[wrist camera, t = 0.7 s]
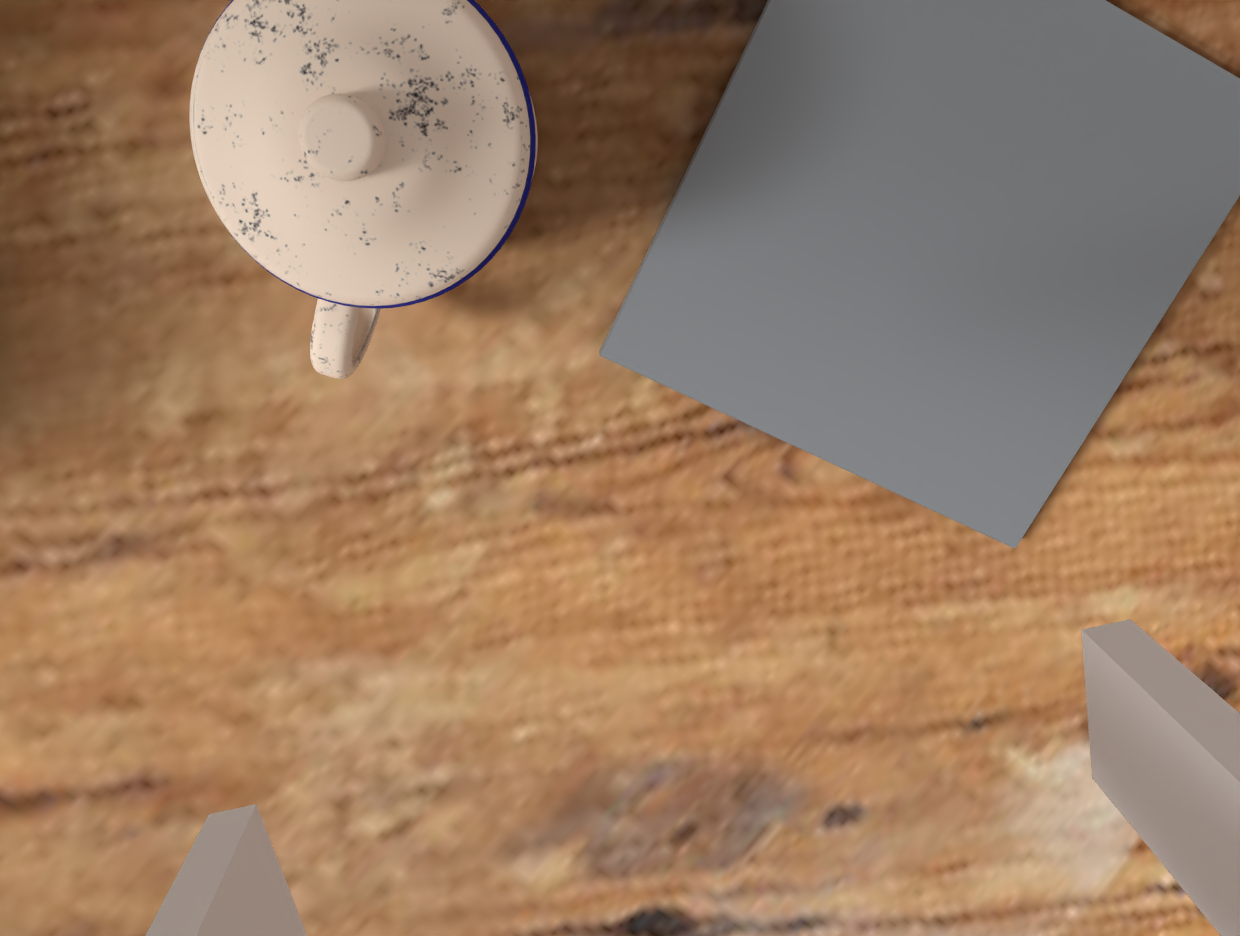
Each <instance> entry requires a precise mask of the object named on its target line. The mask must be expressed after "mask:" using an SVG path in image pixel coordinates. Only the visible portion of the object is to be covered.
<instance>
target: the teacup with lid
mask: <svg viewBox="0 0 1240 936" xmlns="http://www.w3.org/2000/svg"><path fill="white" fill-rule="evenodd" d="M190 133H191V142H192V148H193V153H194V158H195V162H196V165H197V169H198V173H199V175H200V178H201V181H202V184H203V186H204V189H205V191H206V193H207V195H208V197H209V200H210V202H211V204H212V206H213V208H214V209H215V211H216V213H217V214H218V216H219V218H220V219H221V221H222V223H223V224H224V225H225V227H226V228H227V230H228V231H229V232H230V234H231V235H232V236H233V238H234V239H235V240H236V241H237V242H238V243H239V245H240V246H241V247H242V248H243V249H244V250H245V251H246V252H247V253H248V254H249V255H250V256H251V257H252V258H253V259H254V260H255V261H256V262H257V263H259V264H260V265H261V266H262V267H263V268H265V269H266V270H267V271H268V272H270V273H271V274H273V275H274V276H276V277H277V278H279V279H280V280H281V281H283V282H285V283H286V284H288V285H290V286H292V287H294V288H295V289H297V290H299V291H302V292H304V293H306V294H308V295H311V296H313V297H316V298H318V301H317V305H316V310H315V315H314V320H313V326H312V332H311V341H310V357H311V362H312V365H313V367H314V369H315V370H316V371H317V372H319V373H321V374H323V375H326V376H330V377H333V378H338V379H343V378H346V377H348V376H350V375H351V374H352V373H353V372H354V371H355V370H356V368H357V367H358V365H359V364H360V362H361V360H362V358H363V356H364V354H365V352H366V350H367V347H368V345H369V342H370V340H371V337H372V334H373V332H374V329H375V326H376V323H377V320H378V316H379V313H380V309H381V308H394V307H401V306H407V305H412V304H415V303H419V302H423V301H426V300H429V299H432V298H434V297H437V296H440V295H442V294H444V293H446V292H448V291H450V290H452V289H454V288H455V287H457V286H459V285H460V284H462V283H463V282H465V281H466V280H468V279H469V278H470V277H472V276H473V275H474V274H476V273H477V272H478V271H479V270H480V269H481V268H483V267H484V266H485V265H486V264H487V263H488V262H489V261H490V260H491V259H492V258H493V256H494V255H495V254H496V253H497V252H498V251H499V249H500V248H501V247H502V245H503V244H504V243H505V241H506V240H507V238H508V237H509V235H510V234H511V232H512V230H513V228H514V227H515V225H516V223H517V221H518V219H519V217H520V215H521V212H522V210H523V208H524V205H525V203H526V199H527V196H528V193H529V190H530V186H531V182H532V178H533V175H534V171H535V166H536V160H537V151H538V132H537V122H536V116H535V110H534V106H533V103H532V99H531V96H530V93H529V90H528V87H527V83H526V81H525V78H524V75H523V73H522V70H521V67H520V65H519V63H518V61H517V59H516V57H515V55H514V52H513V51H512V49H511V47H510V45H509V44H508V42H507V40H506V39H505V37H504V35H503V34H502V33H501V31H500V30H499V28H498V27H497V26H496V24H495V23H494V22H493V20H492V19H491V18H490V17H489V16H488V14H487V13H486V12H485V11H484V10H483V9H482V8H481V6H480V5H478V4H477V3H476V2H475V1H474V0H232V1H231V3H230V4H229V5H228V6H227V7H226V8H225V10H224V11H223V13H222V14H221V15H220V17H219V18H218V19H217V21H216V23H215V24H214V26H213V28H212V30H211V31H210V33H209V35H208V37H207V39H206V42H205V44H204V46H203V48H202V51H201V53H200V56H199V59H198V63H197V66H196V69H195V74H194V78H193V83H192V89H191V97H190Z"/></svg>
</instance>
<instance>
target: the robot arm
mask: <svg viewBox="0 0 1240 936" xmlns="http://www.w3.org/2000/svg"><path fill="white" fill-rule="evenodd" d="M1082 643H1083V657H1084V671H1085V685H1086V699H1087V713H1088V727H1089V741H1090V755H1091V769H1092V778H1093V780H1094V781H1095V782H1096V783H1097V784H1098V786H1099V787H1100V788H1101V789H1102V791H1103V792H1104V793H1105V794H1106V796H1107V797H1108V798H1109V799H1110V800H1111V802H1112V803H1113V804H1114V805H1115V807H1116V808H1117V809H1118V810H1119V811H1120V813H1121V814H1122V815H1123V816H1124V818H1125V819H1126V820H1127V821H1128V822H1129V824H1130V825H1131V826H1132V827H1133V829H1134V830H1135V831H1136V832H1137V834H1138V835H1139V836H1140V837H1141V838H1142V840H1143V841H1144V842H1145V843H1146V845H1147V846H1148V847H1149V848H1150V849H1151V851H1152V852H1153V853H1154V854H1155V856H1156V857H1157V858H1158V859H1159V861H1160V862H1161V863H1162V864H1163V865H1164V867H1165V868H1166V869H1167V870H1168V872H1169V873H1170V874H1171V875H1172V876H1173V878H1174V879H1175V880H1176V881H1177V883H1178V884H1179V885H1180V886H1181V887H1182V889H1183V890H1184V891H1185V892H1186V894H1187V895H1188V896H1189V897H1190V899H1191V900H1192V901H1193V902H1194V903H1195V905H1196V906H1197V907H1198V908H1199V910H1200V911H1201V912H1202V913H1203V914H1204V916H1205V917H1206V918H1207V919H1208V921H1209V922H1210V923H1211V924H1212V926H1213V927H1214V928H1215V929H1216V930H1217V932H1218V933H1219V934H1220V935H1221V936H1240V714H1239V713H1238V712H1237V711H1236V710H1235V709H1234V708H1232V707H1231V706H1230V705H1229V704H1228V703H1227V702H1226V701H1224V700H1223V699H1222V698H1221V697H1220V696H1219V695H1217V694H1216V693H1215V692H1214V691H1213V690H1212V689H1210V688H1209V687H1208V686H1207V685H1206V684H1205V683H1204V682H1202V681H1201V680H1200V679H1199V678H1198V677H1197V676H1195V675H1194V674H1193V673H1192V672H1191V671H1190V670H1188V669H1187V668H1186V667H1185V666H1184V665H1183V664H1182V663H1180V662H1179V661H1178V660H1177V659H1176V658H1175V657H1173V656H1172V655H1171V654H1170V653H1169V652H1168V651H1166V650H1165V649H1164V648H1163V647H1162V646H1161V645H1160V644H1158V643H1157V642H1156V641H1155V640H1154V639H1153V638H1151V637H1150V636H1149V635H1148V634H1147V633H1146V632H1144V631H1143V630H1142V629H1141V628H1140V627H1139V626H1137V625H1136V624H1135V623H1134V622H1133V621H1132V620H1131V619H1130V620H1125V621H1120V622H1116V623H1111V624H1106V625H1101V626H1097V627H1092V628H1087V629H1083V630H1082ZM146 936H307V934H306V932H305V929H304V926H303V924H302V921H301V919H300V916H299V914H298V911H297V908H296V906H295V903H294V901H293V898H292V895H291V893H290V890H289V888H288V885H287V883H286V880H285V877H284V875H283V872H282V870H281V867H280V864H279V862H278V859H277V857H276V854H275V851H274V849H273V846H272V844H271V841H270V839H269V836H268V833H267V831H266V828H265V826H264V823H263V820H262V818H261V815H260V813H259V810H258V808H257V805H251V806H246V807H241V808H237V809H232V810H227V811H222V812H218V813H213V814H209V815H208V817H207V819H206V821H205V823H204V825H203V827H202V828H201V830H200V832H199V834H198V836H197V838H196V840H195V842H194V844H193V846H192V848H191V850H190V851H189V853H188V855H187V857H186V859H185V861H184V863H183V865H182V867H181V869H180V871H179V873H178V874H177V876H176V878H175V880H174V882H173V884H172V886H171V888H170V890H169V892H168V894H167V896H166V897H165V899H164V901H163V903H162V905H161V907H160V909H159V911H158V913H157V915H156V917H155V919H154V921H153V922H152V924H151V926H150V928H149V930H148V932H147V934H146Z"/></svg>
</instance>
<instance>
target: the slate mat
mask: <svg viewBox="0 0 1240 936" xmlns="http://www.w3.org/2000/svg"><path fill="white" fill-rule="evenodd" d="M1239 196H1240V78H1238V77H1236V76H1235V75H1233V74H1231V73H1229V72H1228V71H1226V70H1224V69H1223V68H1221V67H1219V66H1217V65H1216V64H1214V63H1212V62H1211V61H1209V60H1207V59H1205V58H1204V57H1202V56H1200V55H1199V54H1197V53H1195V52H1193V51H1192V50H1190V49H1188V48H1187V47H1185V46H1183V45H1181V44H1180V43H1178V42H1176V41H1175V40H1173V39H1171V38H1169V37H1168V36H1166V35H1164V34H1163V33H1161V32H1159V31H1157V30H1156V29H1154V28H1152V27H1151V26H1149V25H1147V24H1145V23H1144V22H1142V21H1140V20H1138V19H1137V18H1135V17H1133V16H1132V15H1130V14H1128V13H1126V12H1125V11H1123V10H1121V9H1120V8H1118V7H1116V6H1114V5H1113V4H1111V3H1109V2H1108V1H1106V0H768V1H767V3H766V5H765V7H764V9H763V11H762V14H761V16H760V18H759V20H758V22H757V24H756V26H755V28H754V30H753V32H752V34H751V36H750V39H749V41H748V43H747V45H746V47H745V49H744V51H743V53H742V55H741V57H740V59H739V61H738V64H737V66H736V68H735V70H734V72H733V74H732V76H731V78H730V80H729V82H728V84H727V86H726V89H725V91H724V93H723V95H722V97H721V99H720V101H719V103H718V105H717V107H716V109H715V111H714V114H713V116H712V118H711V120H710V122H709V124H708V126H707V128H706V130H705V132H704V134H703V136H702V139H701V141H700V143H699V145H698V147H697V149H696V151H695V153H694V155H693V157H692V159H691V161H690V164H689V166H688V168H687V170H686V172H685V174H684V176H683V178H682V180H681V182H680V184H679V186H678V189H677V191H676V193H675V195H674V197H673V199H672V201H671V203H670V205H669V207H668V209H667V211H666V214H665V216H664V218H663V220H662V222H661V224H660V226H659V228H658V230H657V232H656V234H655V236H654V238H653V241H652V243H651V245H650V247H649V249H648V251H647V253H646V255H645V257H644V259H643V261H642V263H641V266H640V268H639V270H638V272H637V274H636V276H635V278H634V280H633V282H632V284H631V286H630V288H629V291H628V293H627V295H626V297H625V299H624V301H623V303H622V305H621V307H620V309H619V311H618V313H617V316H616V318H615V320H614V322H613V324H612V326H611V328H610V330H609V332H608V334H607V336H606V338H605V341H604V343H603V345H602V347H601V349H600V351H599V352H600V356H602V357H604V358H606V359H608V360H611V361H613V362H615V363H617V364H619V365H621V366H624V367H626V368H628V369H630V370H632V371H634V372H636V373H639V374H641V375H643V376H645V377H647V378H649V379H651V380H654V381H656V382H658V383H660V384H662V385H664V386H667V387H669V388H671V389H673V390H675V391H677V392H679V393H682V394H684V395H686V396H688V397H690V398H692V399H694V400H697V401H699V402H701V403H703V404H705V405H707V406H710V407H712V408H714V409H716V410H718V411H720V412H722V413H725V414H727V415H729V416H731V417H733V418H735V419H737V420H740V421H742V422H744V423H746V424H748V425H750V426H752V427H755V428H757V429H759V430H761V431H763V432H765V433H768V434H770V435H772V436H774V437H776V438H778V439H780V440H783V441H785V442H787V443H789V444H791V445H793V446H795V447H798V448H800V449H802V450H804V451H806V452H808V453H811V454H813V455H815V456H817V457H819V458H821V459H823V460H826V461H828V462H830V463H832V464H834V465H836V466H838V467H841V468H843V469H845V470H847V471H849V472H851V473H854V474H856V475H858V476H860V477H862V478H864V479H866V480H869V481H871V482H873V483H875V484H877V485H879V486H881V487H884V488H886V489H888V490H890V491H892V492H894V493H897V494H899V495H901V496H903V497H905V498H907V499H909V500H912V501H914V502H916V503H918V504H920V505H922V506H924V507H927V508H929V509H931V510H933V511H935V512H937V513H940V514H942V515H944V516H946V517H948V518H950V519H952V520H955V521H957V522H959V523H961V524H963V525H965V526H967V527H970V528H972V529H974V530H976V531H978V532H980V533H983V534H985V535H987V536H989V537H991V538H993V539H995V540H998V541H1000V542H1002V543H1004V544H1006V545H1008V546H1010V547H1013V548H1016V547H1017V545H1018V544H1019V542H1020V541H1021V539H1022V537H1023V536H1024V534H1025V533H1026V531H1027V529H1028V528H1029V526H1030V525H1031V523H1032V522H1033V520H1034V518H1035V517H1036V515H1037V514H1038V512H1039V511H1040V509H1041V507H1042V506H1043V504H1044V503H1045V501H1046V500H1047V498H1048V496H1049V495H1050V493H1051V492H1052V490H1053V489H1054V487H1055V485H1056V484H1057V482H1058V481H1059V479H1060V478H1061V476H1062V474H1063V473H1064V471H1065V470H1066V468H1067V467H1068V465H1069V463H1070V462H1071V460H1072V459H1073V457H1074V456H1075V454H1076V452H1077V451H1078V449H1079V448H1080V446H1081V445H1082V443H1083V441H1084V440H1085V438H1086V437H1087V435H1088V434H1089V432H1090V430H1091V429H1092V427H1093V426H1094V424H1095V423H1096V421H1097V419H1098V418H1099V416H1100V415H1101V413H1102V412H1103V410H1104V408H1105V407H1106V405H1107V404H1108V402H1109V401H1110V399H1111V397H1112V396H1113V394H1114V393H1115V391H1116V390H1117V388H1118V386H1119V385H1120V383H1121V382H1122V380H1123V379H1124V377H1125V375H1126V374H1127V372H1128V371H1129V369H1130V368H1131V366H1132V364H1133V363H1134V361H1135V360H1136V358H1137V357H1138V355H1139V353H1140V352H1141V350H1142V349H1143V347H1144V346H1145V344H1146V342H1147V341H1148V339H1149V338H1150V336H1151V335H1152V333H1153V331H1154V330H1155V328H1156V327H1157V325H1158V324H1159V322H1160V320H1161V319H1162V317H1163V316H1164V314H1165V312H1166V311H1167V309H1168V308H1169V306H1170V305H1171V303H1172V301H1173V300H1174V298H1175V297H1176V295H1177V294H1178V292H1179V290H1180V289H1181V287H1182V286H1183V284H1184V283H1185V281H1186V279H1187V278H1188V276H1189V275H1190V273H1191V272H1192V270H1193V268H1194V267H1195V265H1196V264H1197V262H1198V261H1199V259H1200V257H1201V256H1202V254H1203V253H1204V251H1205V250H1206V248H1207V246H1208V245H1209V243H1210V242H1211V240H1212V239H1213V237H1214V235H1215V234H1216V232H1217V231H1218V229H1219V228H1220V226H1221V224H1222V223H1223V221H1224V220H1225V218H1226V217H1227V215H1228V213H1229V212H1230V210H1231V209H1232V207H1233V206H1234V204H1235V202H1236V201H1237V199H1238V198H1239Z"/></svg>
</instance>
